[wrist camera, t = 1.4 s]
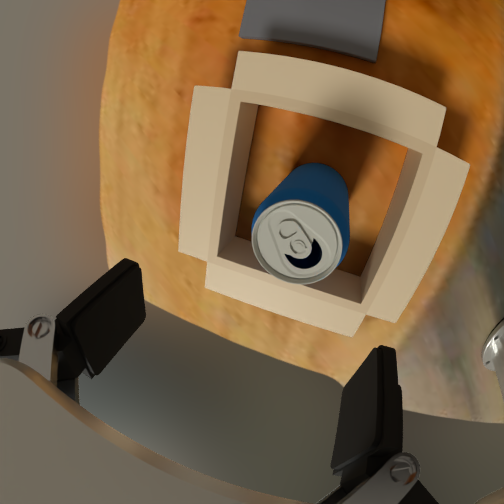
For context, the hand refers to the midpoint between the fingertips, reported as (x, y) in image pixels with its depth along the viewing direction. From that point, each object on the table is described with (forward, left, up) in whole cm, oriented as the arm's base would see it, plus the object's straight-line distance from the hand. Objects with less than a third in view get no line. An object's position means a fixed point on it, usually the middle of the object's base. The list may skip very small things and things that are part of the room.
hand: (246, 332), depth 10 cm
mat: (+4, -21, -20) cm, 29 cm away
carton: (0, 0, -20) cm, 20 cm away
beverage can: (0, 0, -20) cm, 20 cm away
